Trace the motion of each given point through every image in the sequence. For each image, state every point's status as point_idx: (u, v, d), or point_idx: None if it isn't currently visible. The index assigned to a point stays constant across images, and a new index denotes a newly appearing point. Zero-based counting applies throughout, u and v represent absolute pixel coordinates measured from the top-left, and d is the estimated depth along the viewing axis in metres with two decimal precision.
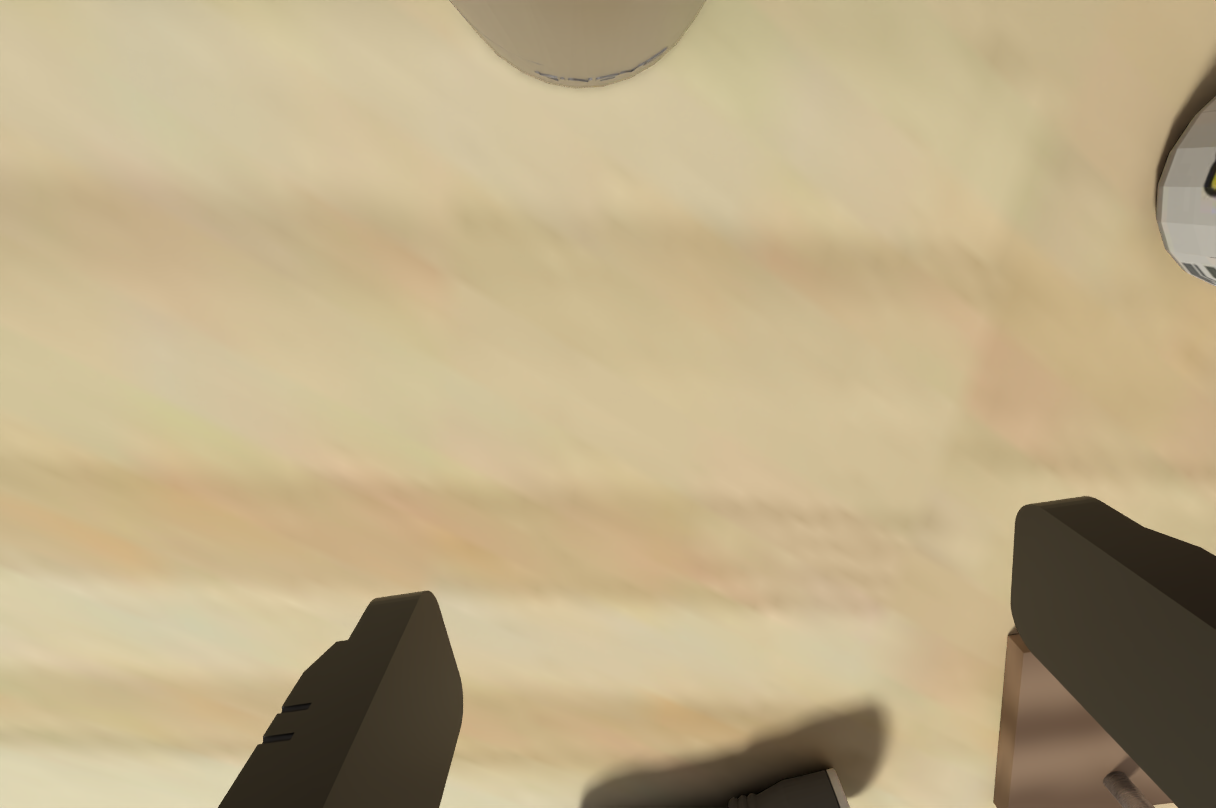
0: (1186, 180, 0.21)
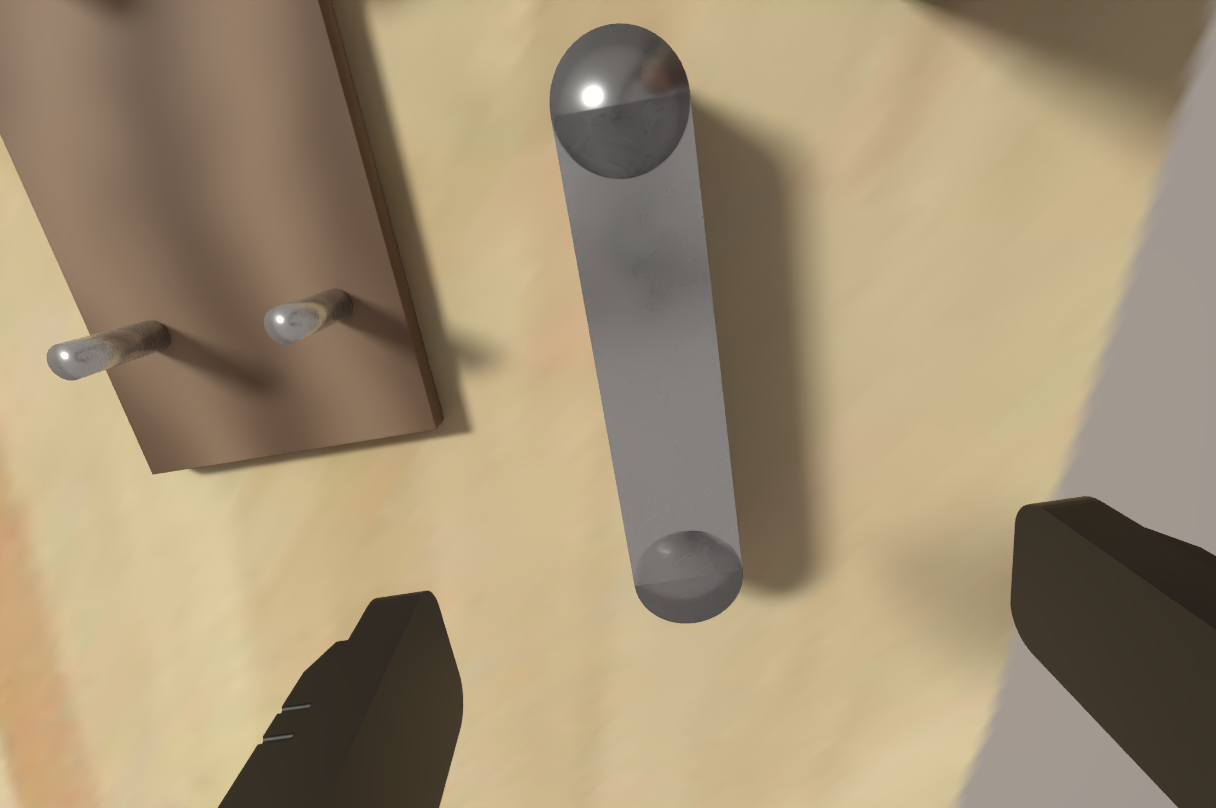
0: None
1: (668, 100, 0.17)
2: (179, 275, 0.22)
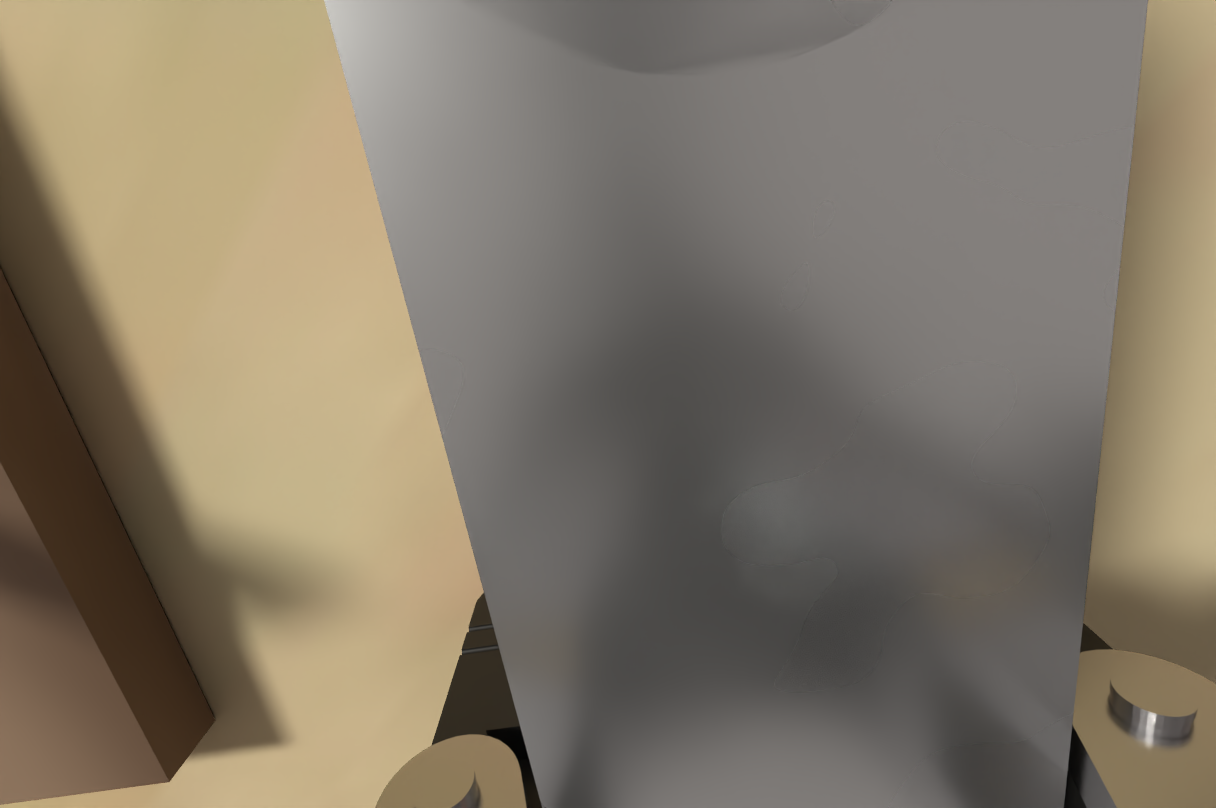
0: None
1: None
2: None
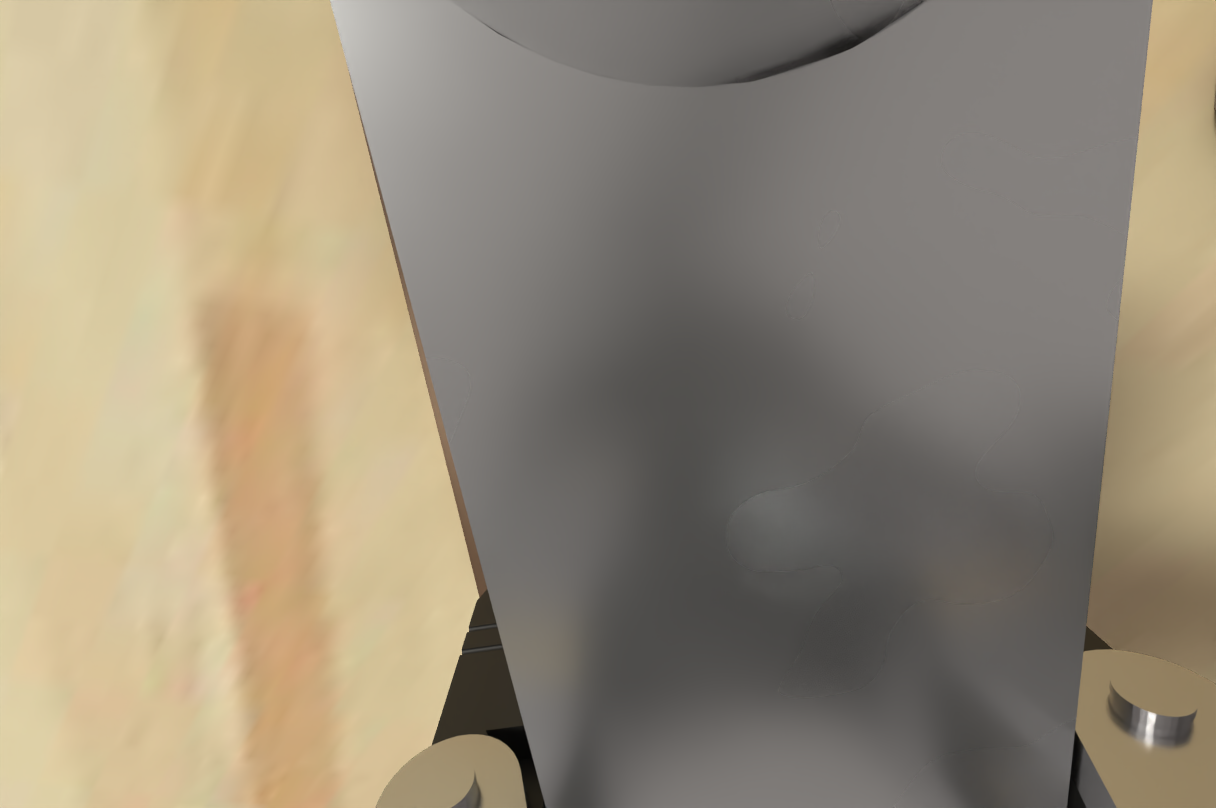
0: None
1: None
2: None
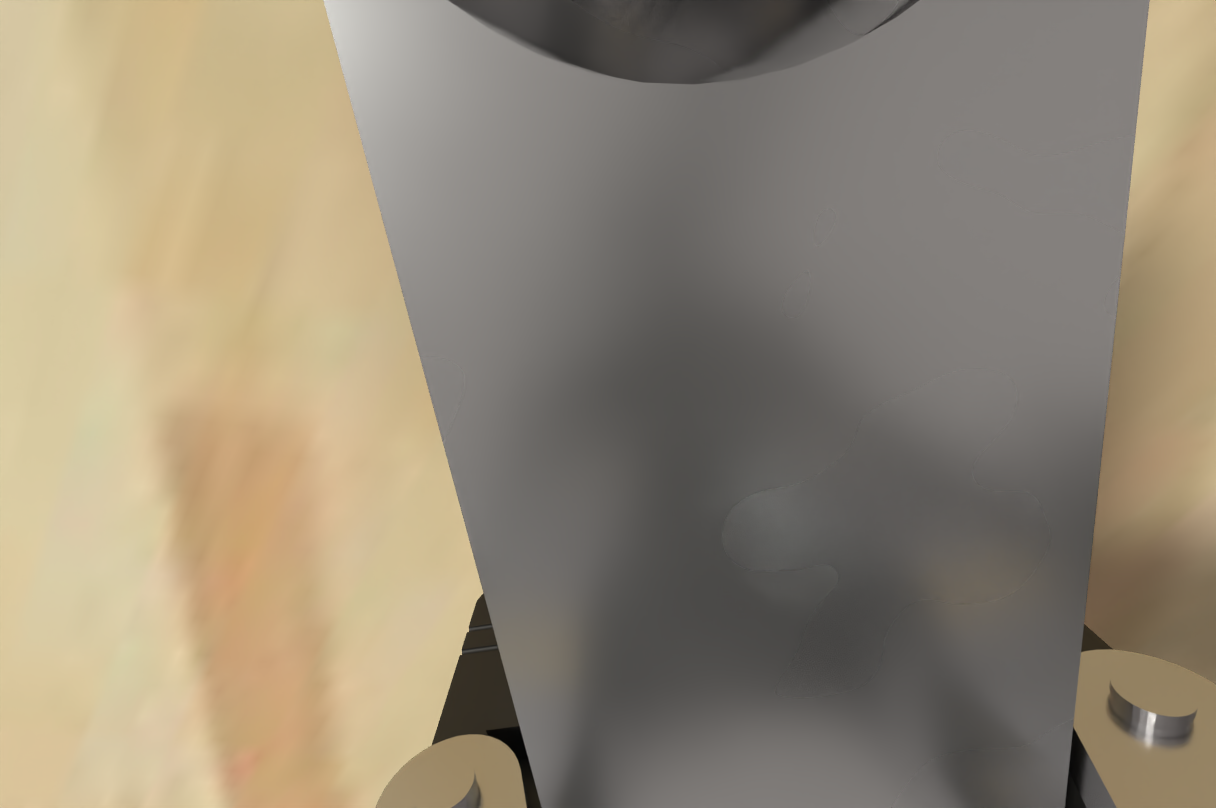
0: None
1: None
2: None
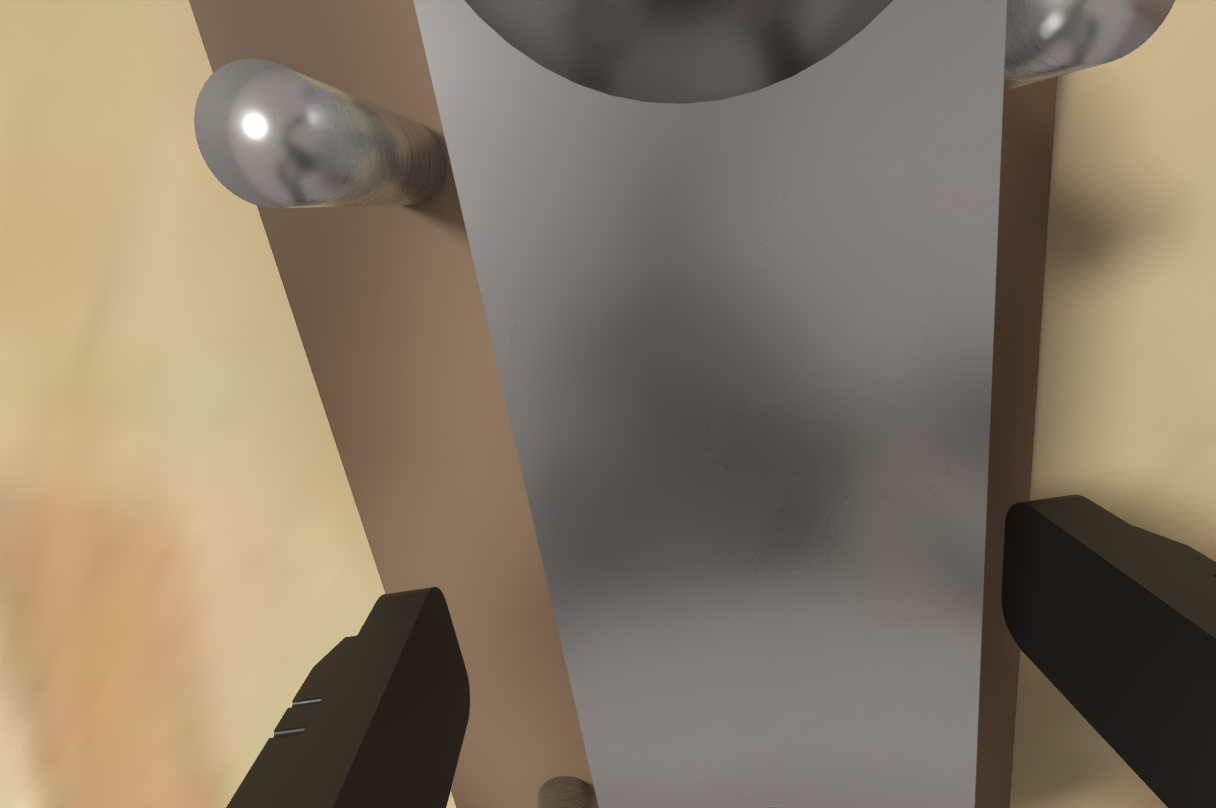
0: None
1: None
2: None
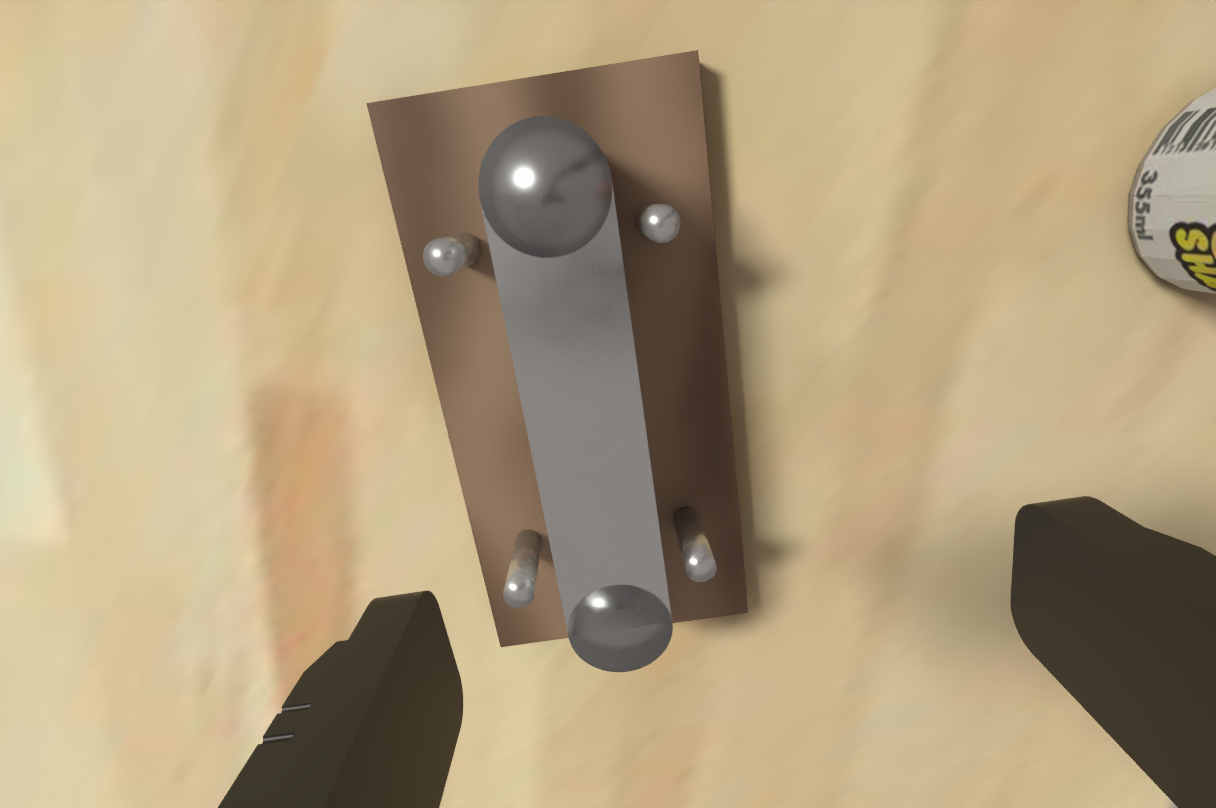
0: None
1: (591, 186, 0.18)
2: None
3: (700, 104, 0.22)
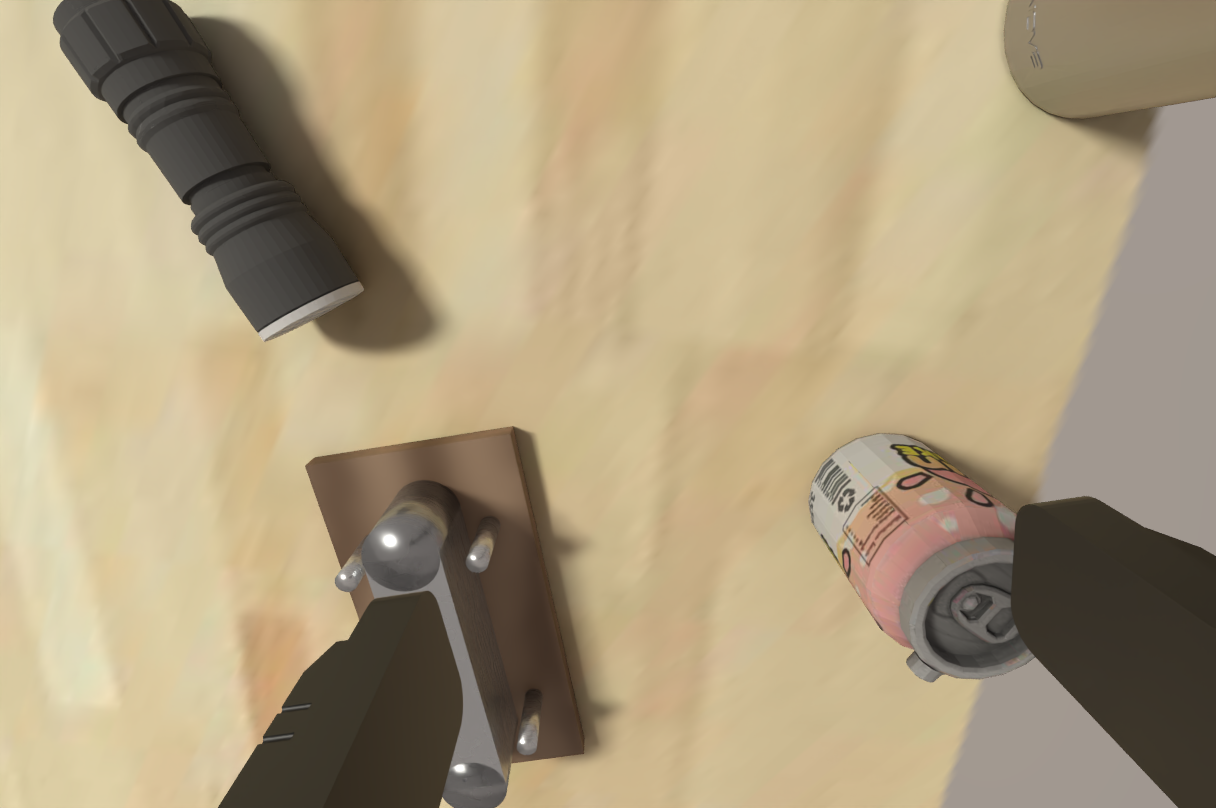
0: (890, 439, 0.34)
1: (427, 556, 0.31)
2: None
3: (515, 461, 0.35)
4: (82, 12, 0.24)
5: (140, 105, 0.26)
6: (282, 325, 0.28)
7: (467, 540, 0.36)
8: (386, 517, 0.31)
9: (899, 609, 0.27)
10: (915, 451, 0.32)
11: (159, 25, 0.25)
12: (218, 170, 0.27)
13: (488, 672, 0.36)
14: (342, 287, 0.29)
